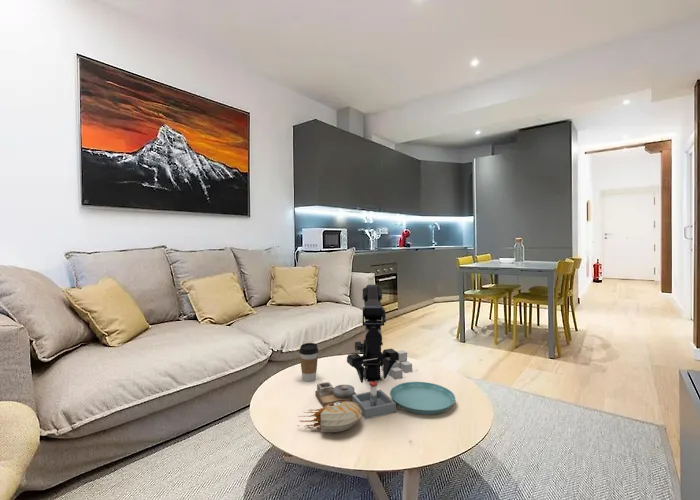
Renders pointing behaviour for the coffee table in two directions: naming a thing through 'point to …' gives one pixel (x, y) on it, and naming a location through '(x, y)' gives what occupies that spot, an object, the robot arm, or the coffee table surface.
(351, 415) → the nautilus
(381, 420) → the coffee table surface
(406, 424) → the coffee table surface
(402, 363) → the puzzle cube
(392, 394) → the teal round plate
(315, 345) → the coffee cup
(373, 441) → the coffee table surface
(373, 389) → the lock pin
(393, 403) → the tray
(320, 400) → the pulley block
